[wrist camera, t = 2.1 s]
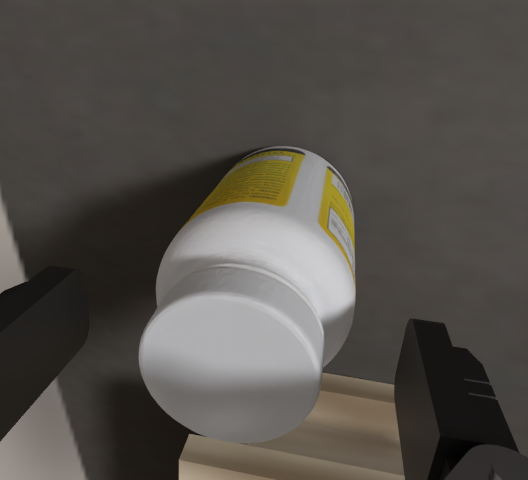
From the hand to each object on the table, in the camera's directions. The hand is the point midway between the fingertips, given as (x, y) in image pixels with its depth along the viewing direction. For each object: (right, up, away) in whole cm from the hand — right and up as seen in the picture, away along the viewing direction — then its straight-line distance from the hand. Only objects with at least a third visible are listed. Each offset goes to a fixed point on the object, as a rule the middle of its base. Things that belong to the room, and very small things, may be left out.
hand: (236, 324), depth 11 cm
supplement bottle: (+1, +3, +7) cm, 8 cm away
